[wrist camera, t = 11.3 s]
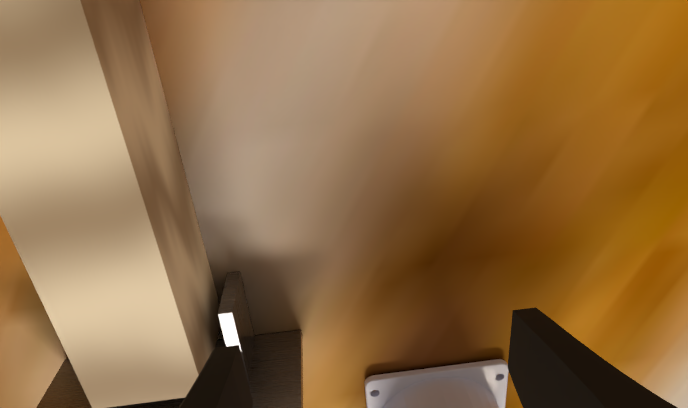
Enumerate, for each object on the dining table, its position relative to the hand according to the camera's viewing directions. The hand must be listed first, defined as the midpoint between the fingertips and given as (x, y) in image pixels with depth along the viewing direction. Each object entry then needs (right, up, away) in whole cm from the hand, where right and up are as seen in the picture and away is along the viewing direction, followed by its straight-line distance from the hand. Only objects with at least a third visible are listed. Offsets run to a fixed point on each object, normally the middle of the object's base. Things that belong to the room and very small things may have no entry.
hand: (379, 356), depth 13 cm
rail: (-10, +5, +8) cm, 14 cm away
